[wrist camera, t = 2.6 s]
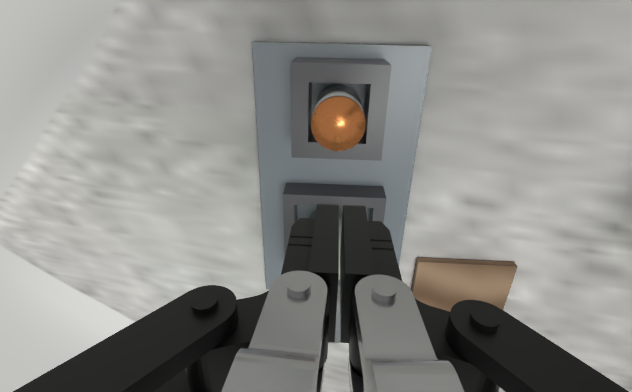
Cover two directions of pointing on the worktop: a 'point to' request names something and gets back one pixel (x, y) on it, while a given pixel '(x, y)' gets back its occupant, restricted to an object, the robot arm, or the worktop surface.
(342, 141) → the plunger
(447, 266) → the coaster
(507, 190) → the worktop surface
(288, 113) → the base
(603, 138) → the worktop surface
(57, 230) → the worktop surface
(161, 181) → the worktop surface
